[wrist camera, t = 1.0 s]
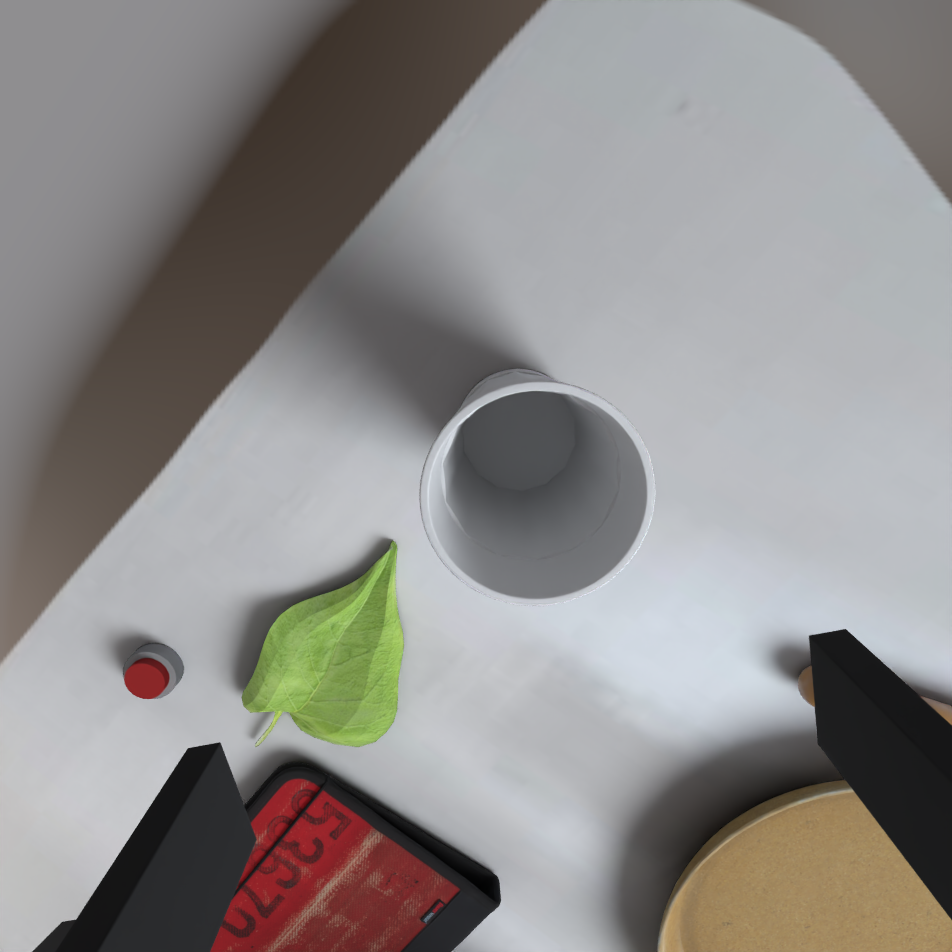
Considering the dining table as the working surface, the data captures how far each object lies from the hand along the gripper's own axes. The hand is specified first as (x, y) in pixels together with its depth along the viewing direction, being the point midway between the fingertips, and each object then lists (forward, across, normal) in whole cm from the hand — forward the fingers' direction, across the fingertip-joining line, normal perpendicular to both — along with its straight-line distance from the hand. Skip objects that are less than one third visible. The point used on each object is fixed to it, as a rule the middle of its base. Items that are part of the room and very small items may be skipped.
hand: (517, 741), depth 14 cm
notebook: (+21, -18, -26) cm, 38 cm away
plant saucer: (+21, +16, -33) cm, 42 cm away
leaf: (+21, -11, -9) cm, 25 cm away
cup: (+21, +2, +3) cm, 21 cm away
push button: (+21, -22, -7) cm, 31 cm away
